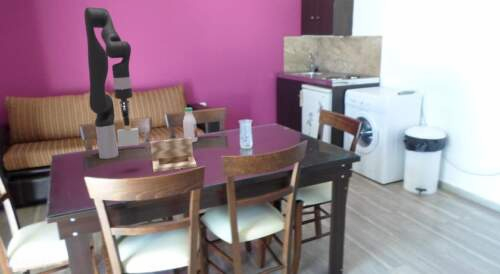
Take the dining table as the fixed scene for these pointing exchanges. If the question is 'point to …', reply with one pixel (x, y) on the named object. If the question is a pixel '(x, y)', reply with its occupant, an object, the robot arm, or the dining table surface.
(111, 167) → the dining table surface
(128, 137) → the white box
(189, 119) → the milk bottle
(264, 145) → the dining table surface
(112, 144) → the robot arm
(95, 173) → the dining table surface
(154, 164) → the woven pattern crate
